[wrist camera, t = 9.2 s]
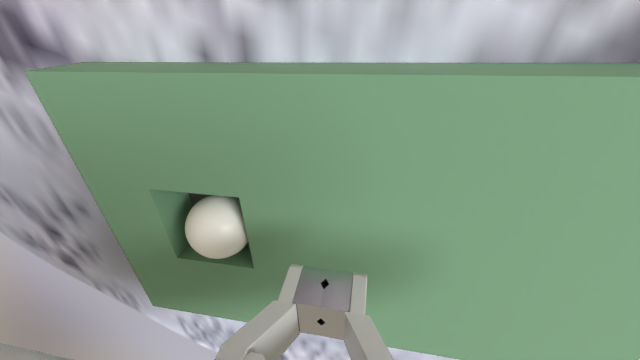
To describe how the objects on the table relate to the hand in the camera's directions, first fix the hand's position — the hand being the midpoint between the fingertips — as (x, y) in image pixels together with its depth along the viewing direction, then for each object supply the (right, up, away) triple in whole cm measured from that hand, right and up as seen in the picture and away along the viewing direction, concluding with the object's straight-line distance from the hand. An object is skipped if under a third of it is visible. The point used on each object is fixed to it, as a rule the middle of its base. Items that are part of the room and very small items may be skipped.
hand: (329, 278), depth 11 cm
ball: (-7, +1, +6) cm, 9 cm away
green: (+2, +2, +7) cm, 7 cm away
